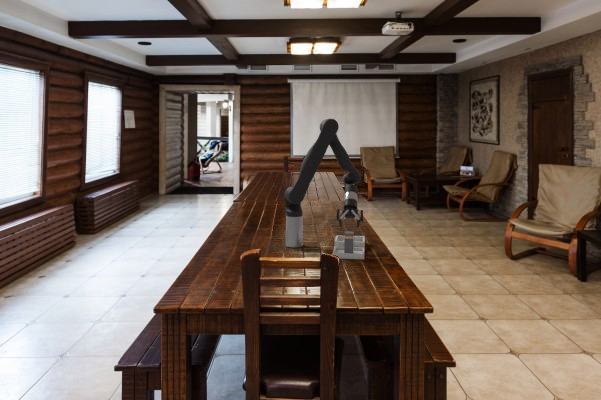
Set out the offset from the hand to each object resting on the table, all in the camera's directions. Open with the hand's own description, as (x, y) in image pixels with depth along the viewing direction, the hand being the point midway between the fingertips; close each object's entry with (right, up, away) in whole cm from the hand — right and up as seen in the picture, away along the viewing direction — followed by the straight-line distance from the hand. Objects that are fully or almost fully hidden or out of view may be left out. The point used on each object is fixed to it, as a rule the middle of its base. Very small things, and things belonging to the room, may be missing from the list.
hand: (349, 226), depth 259 cm
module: (-1, -14, -3) cm, 14 cm away
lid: (-1, -15, -3) cm, 15 cm away
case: (+1, -12, +12) cm, 17 cm away
